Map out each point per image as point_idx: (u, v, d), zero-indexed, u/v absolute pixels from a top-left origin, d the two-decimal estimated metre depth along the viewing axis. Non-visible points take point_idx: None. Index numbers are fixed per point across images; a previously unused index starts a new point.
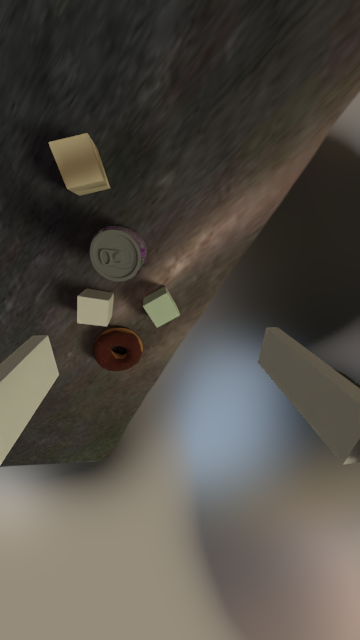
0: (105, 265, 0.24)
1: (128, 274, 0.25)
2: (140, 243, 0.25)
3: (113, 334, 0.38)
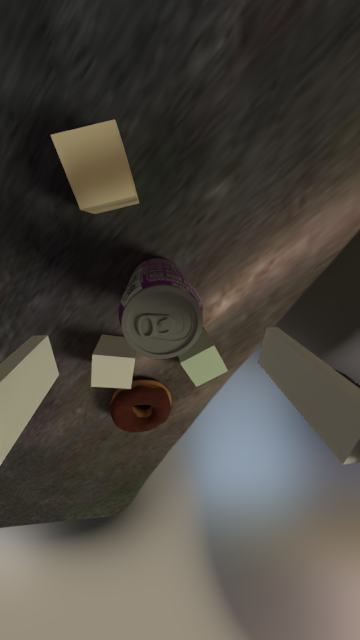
0: (145, 338, 0.15)
1: (180, 347, 0.16)
2: (198, 299, 0.16)
3: (137, 392, 0.29)
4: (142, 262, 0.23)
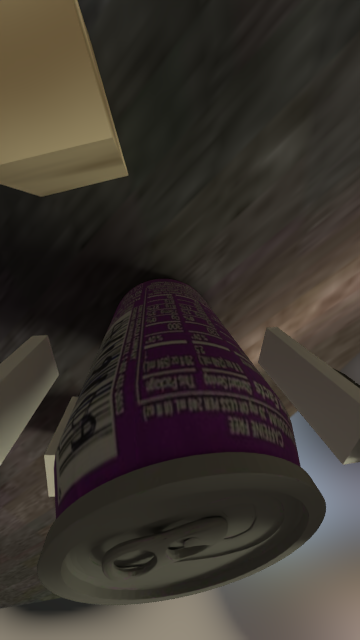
0: (132, 577, 0.05)
1: (234, 563, 0.06)
2: (292, 431, 0.05)
3: None
4: (135, 287, 0.13)
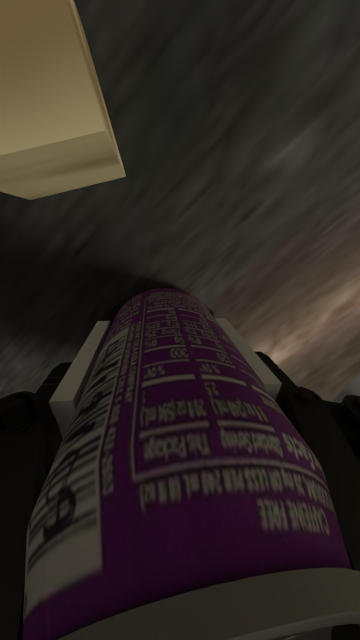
0: None
1: None
2: None
3: None
4: (133, 297, 0.12)
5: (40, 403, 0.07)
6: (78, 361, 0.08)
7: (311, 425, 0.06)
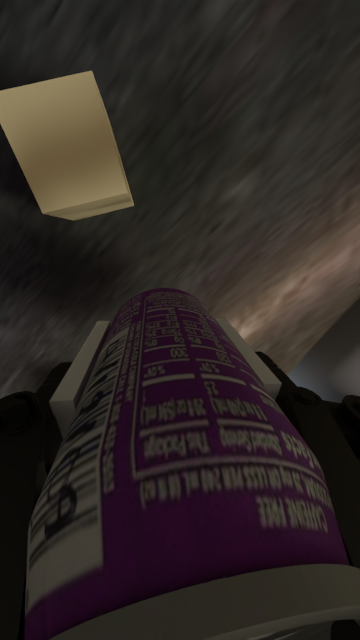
0: None
1: None
2: (327, 490, 0.04)
3: None
4: (134, 297, 0.12)
5: (40, 403, 0.07)
6: (78, 361, 0.08)
7: (311, 425, 0.06)
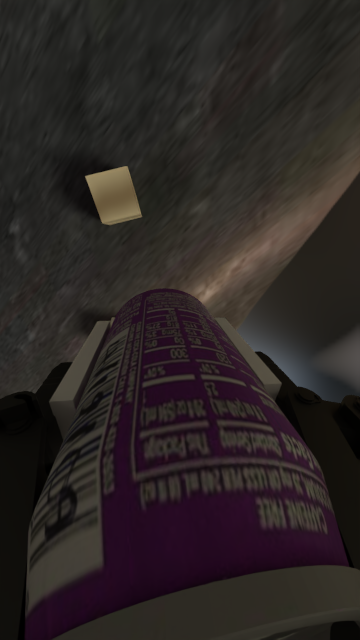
0: None
1: None
2: (327, 491, 0.04)
3: None
4: (134, 298, 0.12)
5: (40, 403, 0.07)
6: (78, 361, 0.08)
7: (311, 425, 0.06)
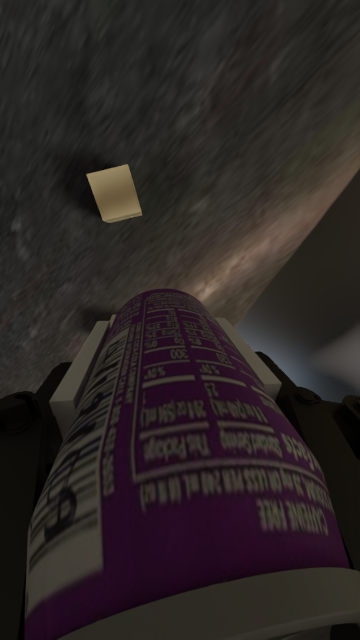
0: None
1: None
2: (328, 492, 0.04)
3: None
4: (134, 298, 0.12)
5: (40, 403, 0.07)
6: (78, 361, 0.08)
7: (311, 425, 0.06)
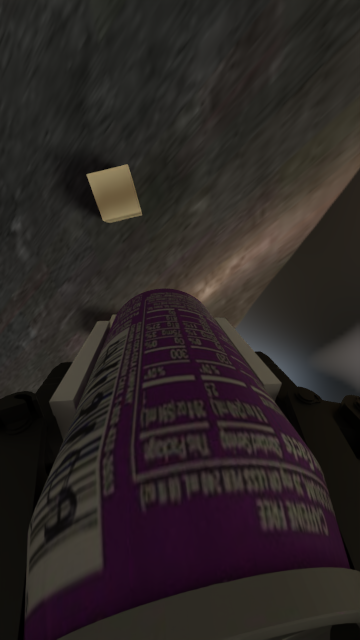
0: None
1: None
2: (328, 492, 0.04)
3: None
4: (134, 298, 0.12)
5: (40, 403, 0.07)
6: (78, 361, 0.08)
7: (311, 425, 0.06)
